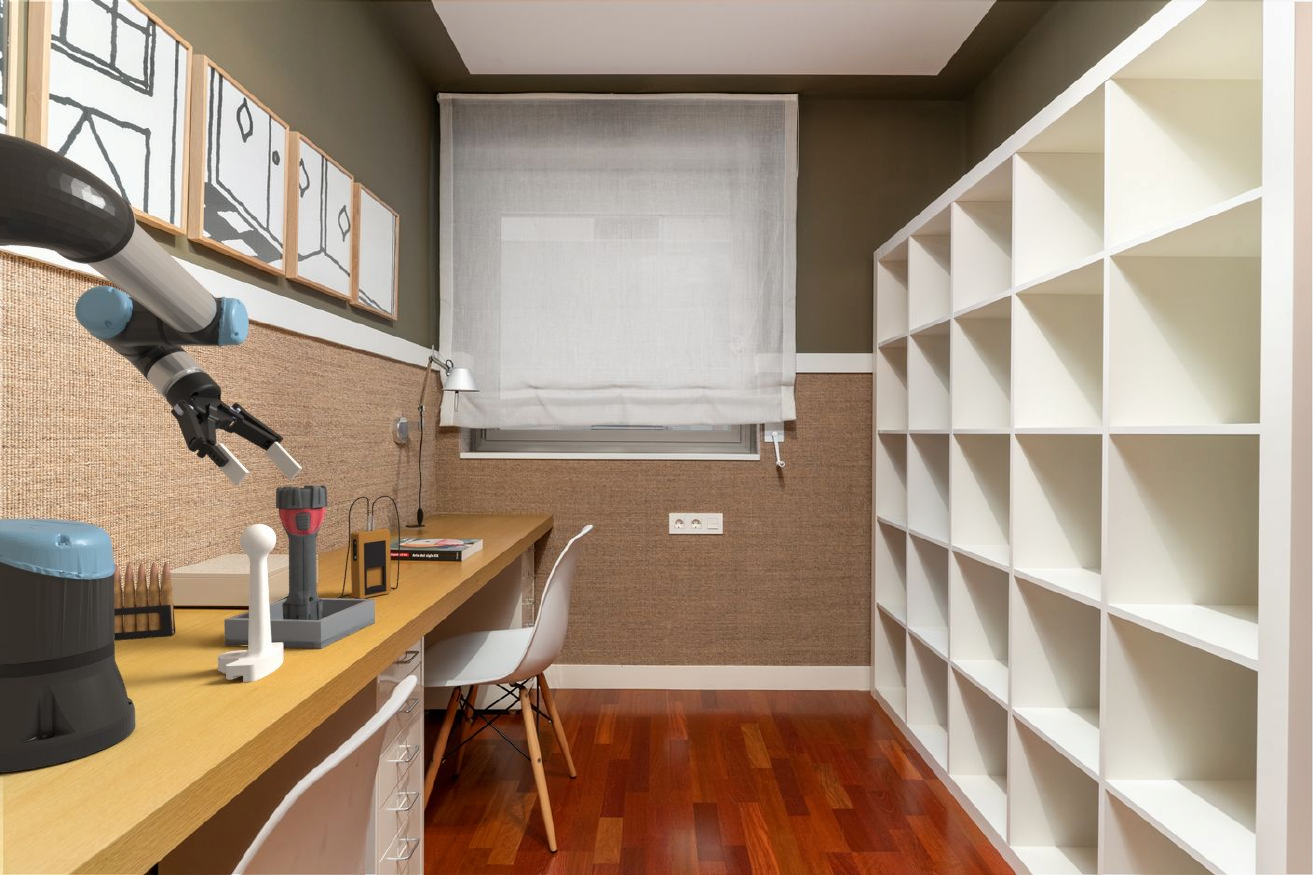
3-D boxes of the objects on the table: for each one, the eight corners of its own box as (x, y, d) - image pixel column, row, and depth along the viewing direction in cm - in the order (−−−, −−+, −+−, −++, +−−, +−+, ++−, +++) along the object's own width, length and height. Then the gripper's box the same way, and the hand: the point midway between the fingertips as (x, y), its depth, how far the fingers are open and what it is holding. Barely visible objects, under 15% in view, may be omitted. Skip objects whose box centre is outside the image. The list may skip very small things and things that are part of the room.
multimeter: (377, 585, 166) (375, 491, 166) (406, 590, 160) (405, 493, 160) (312, 598, 154) (310, 497, 154) (342, 604, 148) (340, 499, 148)
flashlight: (303, 619, 132) (302, 483, 131) (339, 623, 129) (338, 484, 129) (264, 630, 124) (263, 486, 124) (302, 635, 121) (301, 487, 121)
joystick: (261, 681, 102) (259, 528, 102) (200, 684, 101) (197, 530, 101) (291, 657, 113) (289, 519, 113) (236, 659, 112) (233, 520, 112)
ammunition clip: (175, 633, 128) (174, 560, 128) (172, 636, 126) (171, 562, 126) (99, 639, 125) (98, 564, 125) (95, 642, 123) (93, 566, 123)
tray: (321, 648, 118) (320, 621, 118) (224, 645, 120) (224, 619, 120) (374, 622, 133) (374, 599, 133) (288, 620, 136) (288, 597, 136)
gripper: (224, 405, 142) (301, 487, 140) (108, 399, 118) (200, 499, 115) (250, 375, 141) (328, 457, 139) (139, 363, 117) (232, 463, 115)
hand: (270, 476), depth 127 cm, fingers open, 13 cm apart
